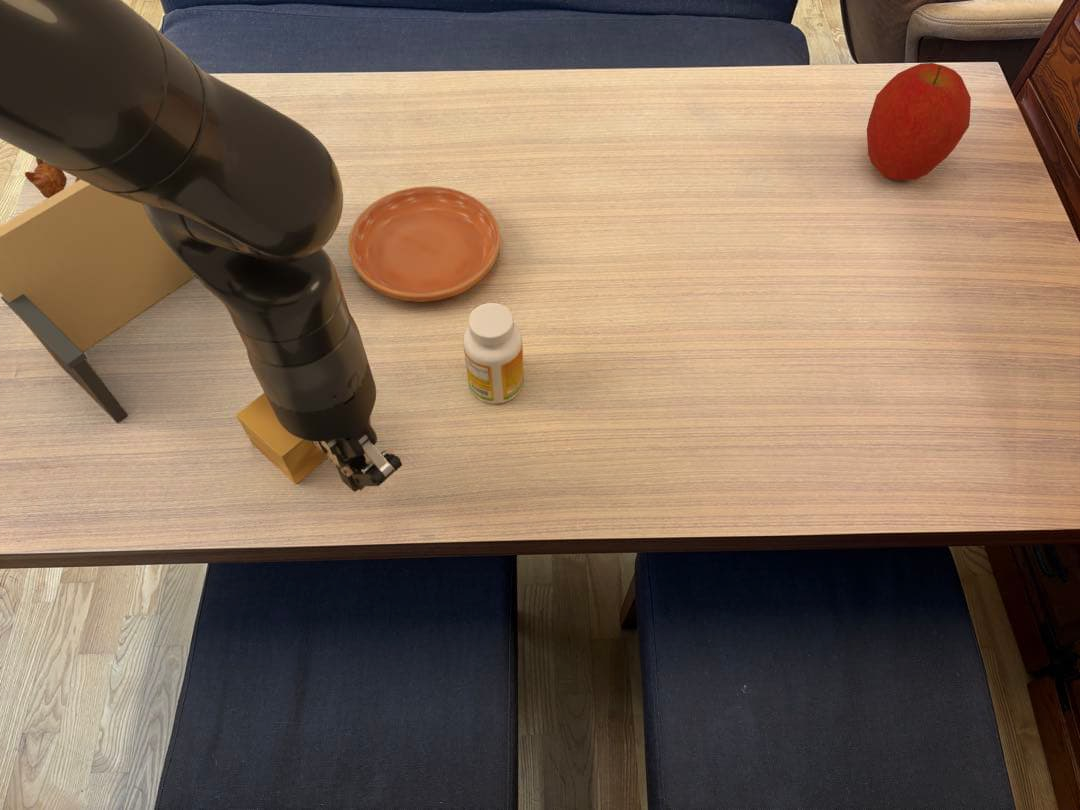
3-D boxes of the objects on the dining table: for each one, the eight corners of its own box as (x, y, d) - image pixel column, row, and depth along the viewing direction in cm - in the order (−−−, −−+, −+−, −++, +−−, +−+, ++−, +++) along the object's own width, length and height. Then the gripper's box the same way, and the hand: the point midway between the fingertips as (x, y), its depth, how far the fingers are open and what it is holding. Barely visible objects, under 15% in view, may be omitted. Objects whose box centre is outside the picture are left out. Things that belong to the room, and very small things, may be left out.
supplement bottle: (520, 357, 84) (518, 293, 76) (526, 402, 82) (524, 340, 73) (466, 362, 84) (458, 299, 76) (470, 408, 81) (462, 346, 73)
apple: (935, 209, 95) (989, 105, 84) (845, 188, 97) (886, 83, 86) (944, 151, 101) (996, 46, 89) (859, 132, 103) (899, 26, 91)
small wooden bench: (291, 297, 89) (247, 179, 76) (115, 425, 80) (30, 318, 67) (227, 245, 93) (173, 125, 80) (53, 361, 84) (-40, 248, 71)
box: (296, 484, 77) (281, 457, 73) (251, 443, 79) (235, 414, 75) (350, 438, 79) (339, 409, 75) (305, 400, 82) (293, 370, 78)
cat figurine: (115, 159, 101) (60, 56, 89) (170, 159, 101) (122, 56, 89) (68, 273, 91) (-1, 174, 79) (129, 273, 91) (68, 174, 79)
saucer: (520, 222, 95) (519, 202, 92) (471, 329, 86) (468, 310, 84) (388, 192, 97) (384, 172, 95) (328, 293, 89) (322, 274, 87)
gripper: (211, 345, 60) (277, 464, 75) (332, 454, 55) (377, 558, 70) (295, 286, 63) (342, 410, 78) (416, 383, 58) (442, 497, 73)
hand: (358, 480), depth 74 cm, fingers closed
